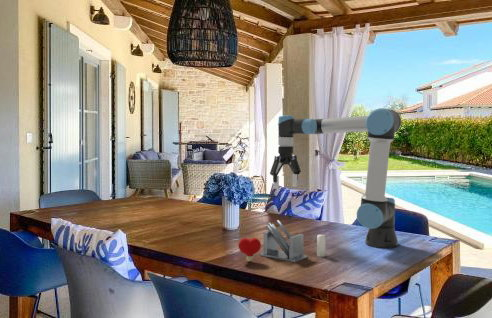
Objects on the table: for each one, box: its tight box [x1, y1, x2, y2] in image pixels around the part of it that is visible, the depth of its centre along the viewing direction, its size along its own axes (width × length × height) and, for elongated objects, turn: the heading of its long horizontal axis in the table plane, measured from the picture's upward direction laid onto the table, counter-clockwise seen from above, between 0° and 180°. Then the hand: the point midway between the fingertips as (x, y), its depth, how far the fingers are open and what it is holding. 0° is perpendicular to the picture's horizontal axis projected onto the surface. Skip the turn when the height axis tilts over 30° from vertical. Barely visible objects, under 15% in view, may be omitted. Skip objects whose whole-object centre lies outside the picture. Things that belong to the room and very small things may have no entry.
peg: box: [316, 234, 327, 258], centre depth 213 cm, size 4×4×9 cm
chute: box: [259, 219, 308, 263], centre depth 212 cm, size 18×10×15 cm, turn 53°
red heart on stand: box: [238, 237, 262, 263], centre depth 203 cm, size 9×7×10 cm
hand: (285, 187), depth 247 cm, fingers open, 13 cm apart
